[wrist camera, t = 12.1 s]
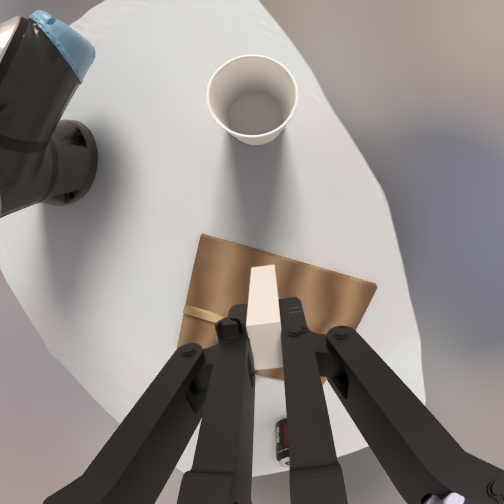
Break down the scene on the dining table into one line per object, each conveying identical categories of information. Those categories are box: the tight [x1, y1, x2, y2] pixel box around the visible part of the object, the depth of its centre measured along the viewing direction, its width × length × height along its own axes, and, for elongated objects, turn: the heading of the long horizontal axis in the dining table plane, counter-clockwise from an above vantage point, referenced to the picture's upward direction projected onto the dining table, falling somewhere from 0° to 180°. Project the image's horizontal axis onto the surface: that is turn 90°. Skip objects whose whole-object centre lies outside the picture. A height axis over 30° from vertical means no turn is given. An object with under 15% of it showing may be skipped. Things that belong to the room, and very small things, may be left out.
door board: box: [177, 234, 377, 385], centre depth 45 cm, size 30×24×5 cm
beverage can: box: [275, 418, 290, 467], centre depth 52 cm, size 7×7×12 cm
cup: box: [206, 55, 298, 145], centre depth 29 cm, size 8×8×16 cm
